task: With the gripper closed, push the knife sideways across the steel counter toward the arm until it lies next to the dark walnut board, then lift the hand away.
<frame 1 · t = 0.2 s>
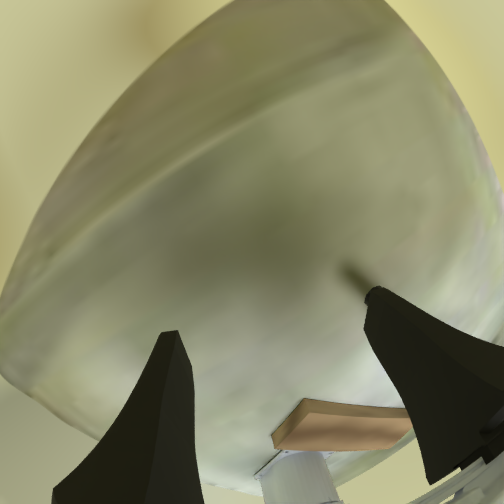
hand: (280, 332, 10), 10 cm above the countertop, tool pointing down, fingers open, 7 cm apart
walnut board: (353, 424, 30), on the countertop
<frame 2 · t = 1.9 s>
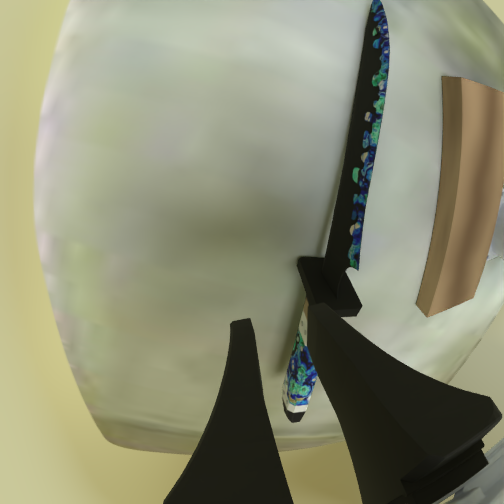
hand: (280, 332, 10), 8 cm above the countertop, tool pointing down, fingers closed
walnut board: (463, 201, 19), on the countertop
knife: (329, 218, 18), on the countertop
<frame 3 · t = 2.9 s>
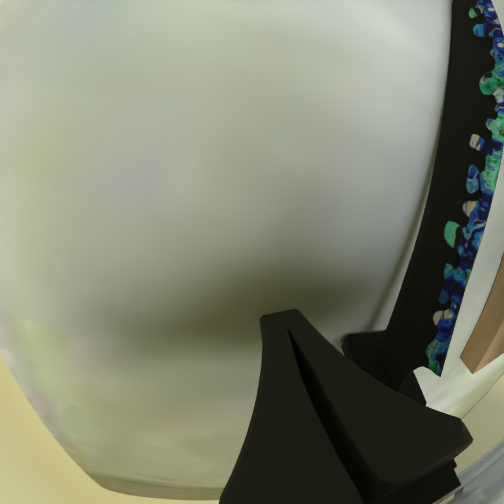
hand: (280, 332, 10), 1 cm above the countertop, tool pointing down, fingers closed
knife: (391, 282, 12), on the countertop
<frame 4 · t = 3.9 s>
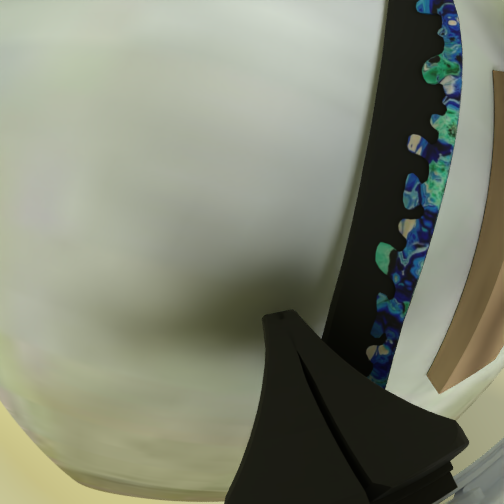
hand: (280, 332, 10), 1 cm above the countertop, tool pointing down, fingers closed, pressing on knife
walnut board: (503, 250, 12), on the countertop
knife: (318, 305, 11), on the countertop, touching gripper
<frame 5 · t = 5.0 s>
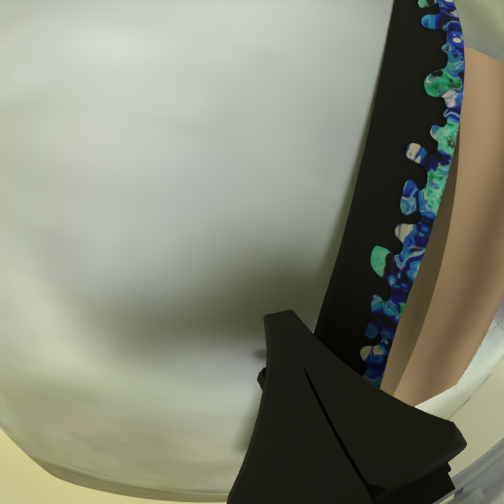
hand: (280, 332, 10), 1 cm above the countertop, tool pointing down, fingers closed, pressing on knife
walnut board: (454, 266, 12), on the countertop
knife: (307, 307, 11), on the countertop, touching gripper
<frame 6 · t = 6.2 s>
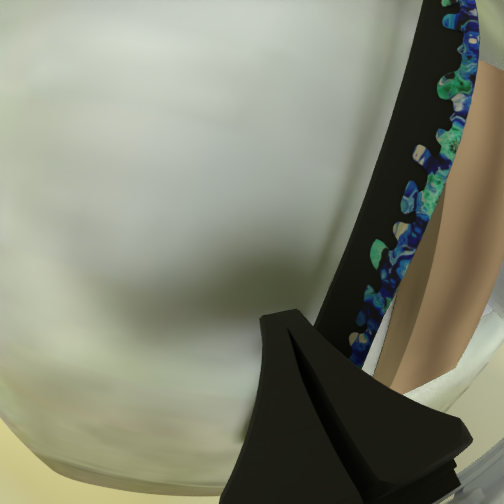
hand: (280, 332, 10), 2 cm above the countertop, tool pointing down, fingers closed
walnut board: (449, 251, 13), on the countertop
knife: (321, 287, 12), on the countertop
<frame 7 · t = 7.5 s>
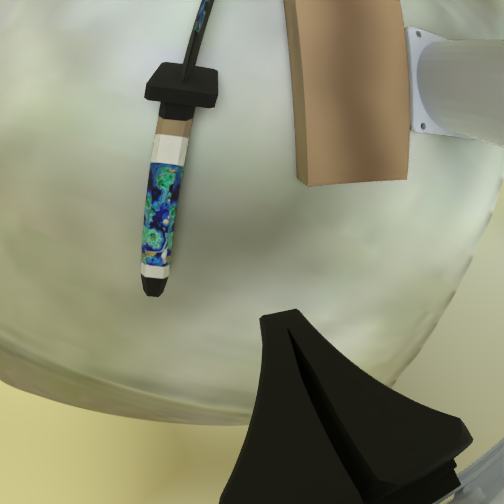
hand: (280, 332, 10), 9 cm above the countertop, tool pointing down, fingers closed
walnut board: (340, 25, 13), on the countertop
knife: (205, 21, 11), point 1 cm above the countertop
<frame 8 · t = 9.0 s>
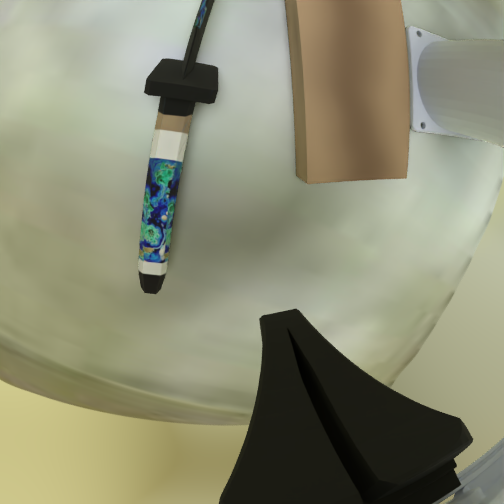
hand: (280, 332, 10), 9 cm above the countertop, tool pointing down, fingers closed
walnut board: (341, 24, 13), on the countertop
knife: (206, 18, 11), point 1 cm above the countertop
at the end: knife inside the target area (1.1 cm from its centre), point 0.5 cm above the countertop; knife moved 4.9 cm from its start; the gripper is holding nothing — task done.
